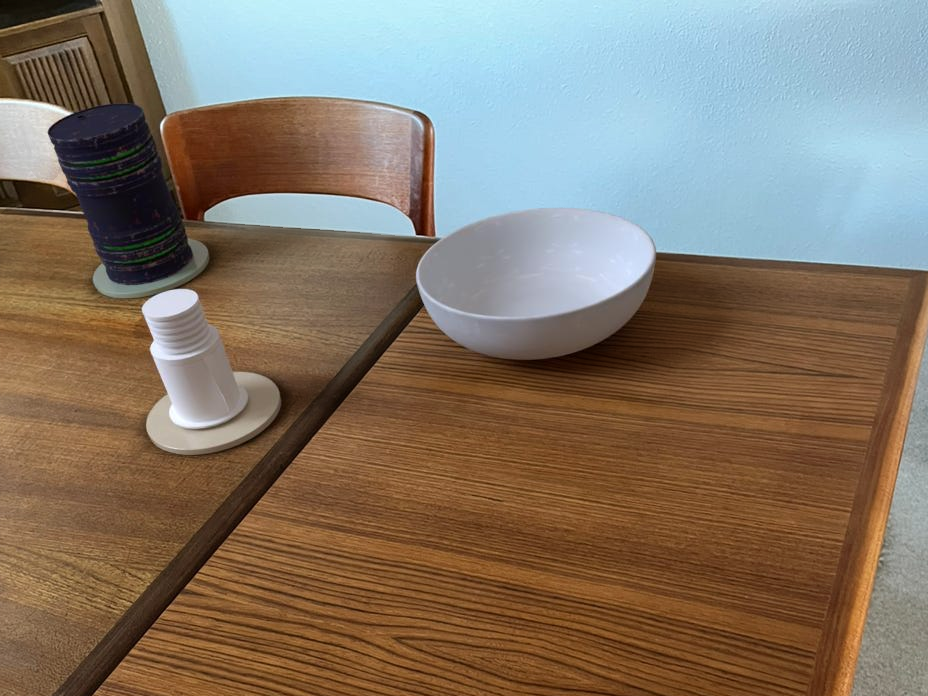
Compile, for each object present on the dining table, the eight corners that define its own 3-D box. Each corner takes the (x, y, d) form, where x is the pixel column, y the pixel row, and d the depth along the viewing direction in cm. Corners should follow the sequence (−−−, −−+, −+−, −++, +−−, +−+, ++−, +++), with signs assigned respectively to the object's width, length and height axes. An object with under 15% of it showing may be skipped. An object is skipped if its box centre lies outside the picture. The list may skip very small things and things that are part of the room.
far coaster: (76, 301, 105) (73, 296, 104) (120, 246, 114) (118, 241, 113) (187, 295, 103) (185, 289, 102) (224, 239, 111) (222, 234, 111)
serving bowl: (699, 343, 84) (703, 267, 79) (479, 420, 80) (468, 345, 75) (589, 253, 98) (586, 184, 93) (397, 315, 94) (383, 246, 89)
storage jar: (211, 255, 107) (163, 110, 96) (138, 294, 103) (79, 146, 92) (161, 236, 113) (110, 97, 102) (89, 272, 108) (28, 131, 97)
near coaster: (128, 457, 83) (125, 451, 82) (175, 379, 91) (172, 373, 90) (260, 453, 81) (258, 447, 80) (296, 374, 89) (294, 368, 88)
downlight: (152, 414, 86) (107, 310, 79) (214, 376, 89) (176, 273, 82) (205, 442, 82) (162, 335, 75) (268, 402, 85) (233, 295, 78)
